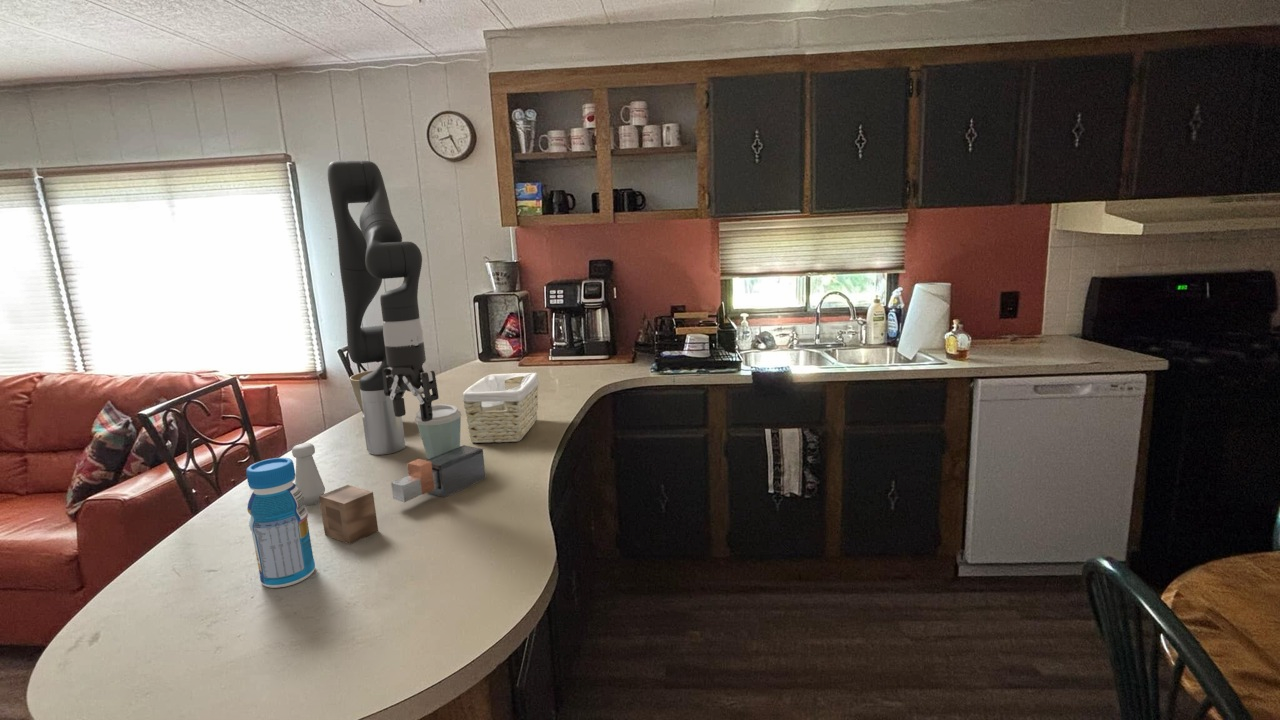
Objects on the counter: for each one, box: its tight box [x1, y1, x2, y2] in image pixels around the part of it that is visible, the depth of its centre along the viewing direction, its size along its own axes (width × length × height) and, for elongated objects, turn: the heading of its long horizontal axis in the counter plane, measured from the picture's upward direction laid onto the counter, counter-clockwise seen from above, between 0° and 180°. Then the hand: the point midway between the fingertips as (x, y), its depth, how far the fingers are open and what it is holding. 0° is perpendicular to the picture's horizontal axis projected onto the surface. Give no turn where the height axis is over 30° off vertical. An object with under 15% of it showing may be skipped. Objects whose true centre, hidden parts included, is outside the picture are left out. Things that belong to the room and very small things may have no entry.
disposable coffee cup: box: [414, 403, 462, 460], centre depth 153 cm, size 11×11×15 cm
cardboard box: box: [319, 484, 379, 545], centre depth 122 cm, size 6×8×8 cm
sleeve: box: [426, 444, 486, 498], centre depth 143 cm, size 12×6×7 cm, turn 147°
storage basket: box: [462, 372, 540, 444], centre depth 181 cm, size 24×16×15 cm
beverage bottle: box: [245, 457, 316, 589], centre depth 106 cm, size 8×8×20 cm
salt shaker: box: [291, 442, 326, 507], centre depth 137 cm, size 6×6×13 cm
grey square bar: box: [390, 458, 441, 503], centre depth 139 cm, size 21×4×6 cm, turn 147°
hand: (413, 418), depth 133 cm, fingers open, 8 cm apart
